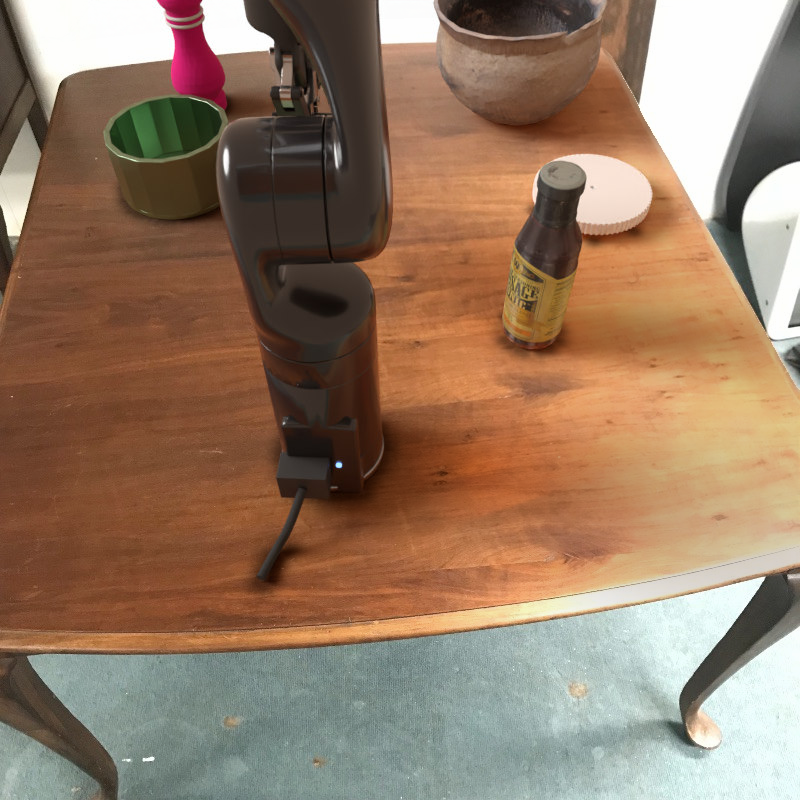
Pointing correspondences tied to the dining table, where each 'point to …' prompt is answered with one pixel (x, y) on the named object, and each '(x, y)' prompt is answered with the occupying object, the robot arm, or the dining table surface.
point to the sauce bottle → (545, 259)
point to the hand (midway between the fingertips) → (307, 149)
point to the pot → (167, 155)
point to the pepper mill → (193, 53)
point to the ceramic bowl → (518, 54)
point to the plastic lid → (608, 194)
